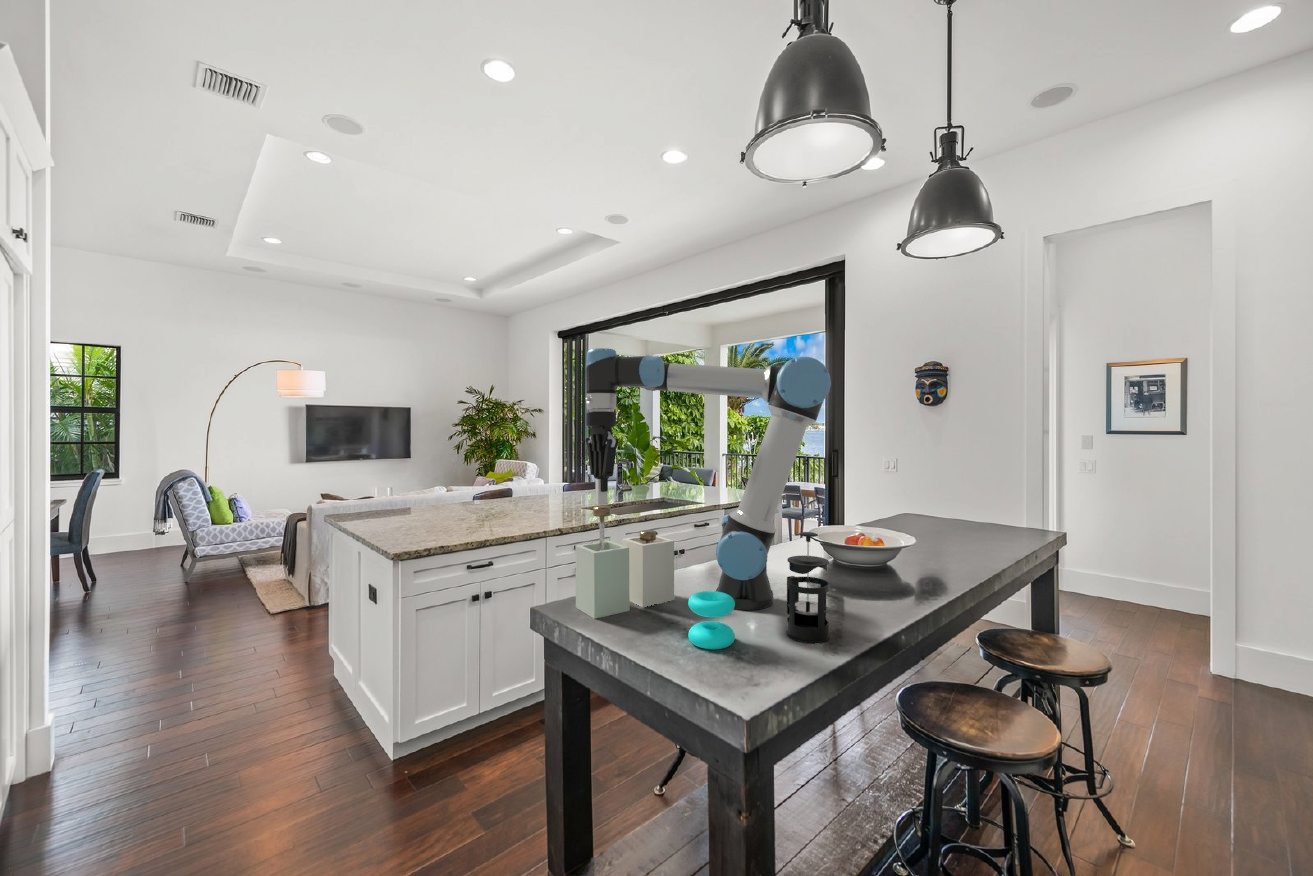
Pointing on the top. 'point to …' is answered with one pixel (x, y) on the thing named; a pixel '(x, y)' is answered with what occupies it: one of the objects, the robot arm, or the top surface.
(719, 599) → the donuts
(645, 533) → the plunger
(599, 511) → the plunger
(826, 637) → the french press
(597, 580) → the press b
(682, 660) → the top surface
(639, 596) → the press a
